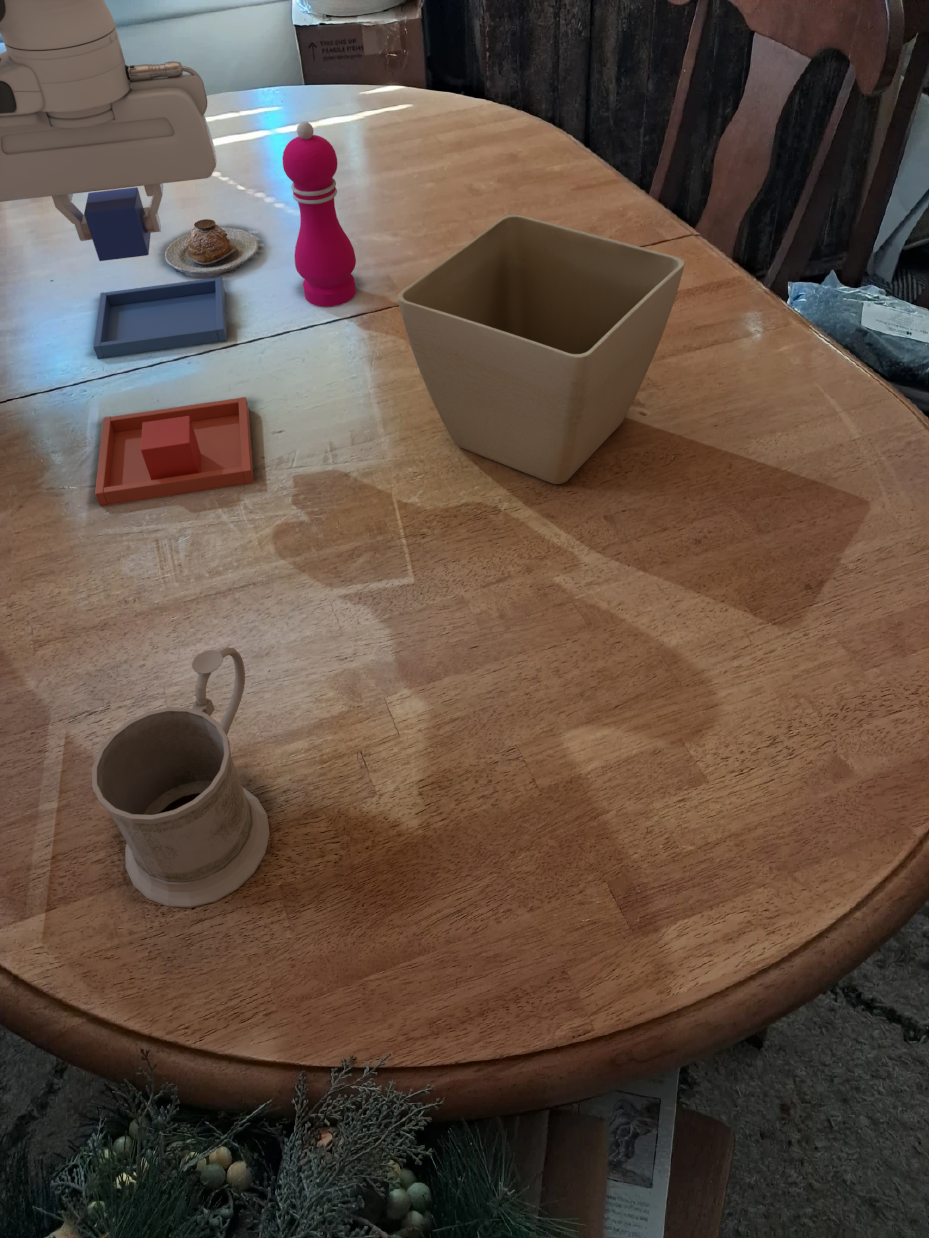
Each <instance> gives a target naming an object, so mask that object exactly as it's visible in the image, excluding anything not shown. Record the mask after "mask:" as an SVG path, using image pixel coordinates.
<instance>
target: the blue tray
mask: <svg viewBox="0 0 929 1238" xmlns="http://www.w3.org/2000/svg"><path fill="white" fill-rule="evenodd" d="M226 298H227V297H226V288H225V285H224V282H223V277H222V276H218V277H209V278H201V279H196V280H188V281H180V282H172V283H164V284H158V285H149V286H142V287H138V288H137V287H136V288H128V289H127V288H126V289H120V290H112V291H107V292H106V291H105V292H100V295H99V302H98V308H97V315H96V323H95V330H94V331H95V332H94V339H93V346H92V347H93V350H94V353H95V356H96V359H97V360H102V359H109V358H116V357H121V356H122V357H123V356H129V355H136V354H138V355H139V354H144V353H151V352H158V351H166V350H172V349H180V348H186V347H194V346H202V345H208V344H209V345H210V344H216V343H223V342H228V339H227V331H228V325H227V304H226V303H227V301H226V300H227V299H226Z"/></svg>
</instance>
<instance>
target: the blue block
mask: <svg viewBox="0 0 929 1238" xmlns="http://www.w3.org/2000/svg"><path fill="white" fill-rule="evenodd" d="M141 208H144V205H143V202H142V197H141V194H140V191H139V187H138V186H136V187H127V188H118V189H110V190H101V191H92V192H87V197H86V202H85V208H84V212H83V215H84V216H85V219H86V222H87V225H88V228H89V231H90V234H91V237H92V240H91V241H92V243H93V246H94V250H95V253H96V255H97V258H98V261H99V262H106V261H113V260H121V259H122V260H123V259H130V258H137V257H145V256H147V257H148V256H150V255H149V254H150V243H151V234H152V233H145V231H144V228H143V224H142V221H141V217H140V214H141Z"/></svg>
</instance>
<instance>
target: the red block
mask: <svg viewBox="0 0 929 1238" xmlns="http://www.w3.org/2000/svg"><path fill="white" fill-rule="evenodd" d="M141 452H142V455H143V458H144V461H145V463H146V466H147V469H148V472H149V475H150V478H151V480H157V479H164V478H170V477H177V476H183V475H190V474H196V473H201V453H200V449H199V446H198V443H197V439H196V436H195V433H194V429H193V426H192V423H191V419H190V416H184V417H177V418H170V419H164V420H157V421H150V422H143V423H142V439H141Z"/></svg>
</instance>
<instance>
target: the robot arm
mask: <svg viewBox="0 0 929 1238" xmlns="http://www.w3.org/2000/svg"><path fill="white" fill-rule="evenodd" d="M0 36H1V38H2V41H3V44H4V47H5V51H4V52H1V53H0V203H4V202H12V201H14V202H15V201H21V200H30V199H39V198H48V197H51V198H52V201H53V204H54V207H55V209H56V210H58V212H60V213H61V214H62V215H63V216H64V217H65V218H66V219H67V220H68V221H69V222H70V223H71V224H72V225H74V227H75V230H76V233H77V235H78V239H79V241H80V242H85V241H93V240H92V237H91V234H90V231H89V228H88V225H87V222H86V219H85V216H84V213H83V212H82V211H81V210H80V209H79V208H78V207H77V206H76V205H75V204H74V203H73V202H72V200H73V196H74V194H84V193H92V192H101V191H110V190H118V189H127V188H136V187H142V186H143V187H144V190H145V193H146V196H147V197H149V198H150V197H151V198H150V201H149V205H148V206H147V207H143V208H141V214H140V217H141V221H142V224H143V228H144V231H145V233H151V234H152V233H160V232H162V224H161V218H160V214H159V212H158V211H159V208H160V205H161V201H162V198H163V193H164V192H163V191H164V184H169V183H178V182H189V181H195V180H203V179H205V180H206V179H209V178H210V177H212V175H213V174H214V172H215V171H216V170H215V169H216V168H217V163H218V161H217V153H216V147H215V144H214V141H213V137H212V134H211V130H210V128H209V124H208V121H207V119H206V116H205V114H206V111H207V108H208V97H207V93H206V87H205V84H204V81H203V79H202V77H201V75H200V74H199V73H198V72H197V71H196V70H195V69H193V68H191V67H189V66H187V65H182V63H181V61H173V60H171V61H165V62H164V63H159V64H157V63H156V64H152V63H145V64H144V63H143V64H134V65H133V64H131V65H127V64H126V60H125V56H124V53H123V49H122V44H121V41H120V38H119V33H118V30H117V26H116V22H115V19H114V17H113V14H112V13H111V11H110V9H109V8H108V5H107V4H106V2H105V0H0ZM184 72H185V74H184Z"/></svg>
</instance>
